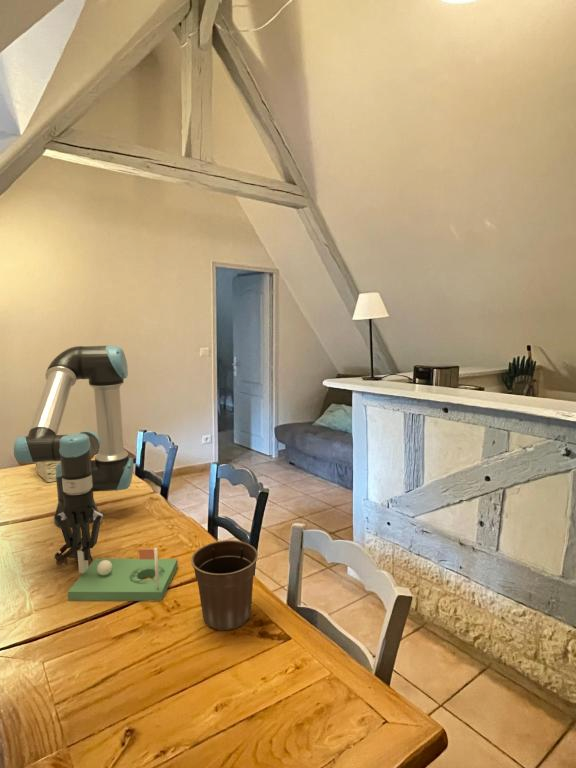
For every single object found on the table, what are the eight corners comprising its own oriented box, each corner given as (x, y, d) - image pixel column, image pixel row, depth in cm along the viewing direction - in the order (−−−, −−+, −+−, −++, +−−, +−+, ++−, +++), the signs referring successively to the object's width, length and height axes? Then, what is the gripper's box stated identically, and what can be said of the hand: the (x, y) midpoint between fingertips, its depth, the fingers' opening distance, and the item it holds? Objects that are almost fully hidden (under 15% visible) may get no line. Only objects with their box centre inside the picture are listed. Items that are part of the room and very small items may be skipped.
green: (68, 600, 122) (67, 591, 122) (95, 566, 139) (94, 558, 139) (161, 600, 122) (161, 592, 122) (177, 566, 139) (177, 558, 139)
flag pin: (142, 596, 124) (139, 547, 122) (159, 596, 124) (157, 547, 122) (141, 598, 123) (138, 549, 121) (159, 598, 123) (156, 549, 121)
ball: (100, 570, 132) (100, 557, 132) (114, 570, 132) (113, 557, 132) (94, 578, 128) (94, 564, 128) (109, 578, 128) (108, 564, 128)
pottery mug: (87, 573, 136) (69, 554, 134) (62, 583, 139) (45, 564, 136) (104, 544, 147) (88, 526, 145) (81, 554, 150) (65, 536, 147)
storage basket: (33, 471, 226) (30, 442, 224) (68, 465, 237) (66, 437, 234) (45, 485, 208) (42, 453, 206) (82, 477, 218) (80, 446, 216)
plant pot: (204, 646, 105) (202, 580, 103) (185, 607, 119) (183, 549, 117) (269, 624, 113) (268, 562, 110) (244, 590, 127) (243, 535, 125)
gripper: (47, 495, 123) (54, 577, 127) (95, 495, 123) (101, 577, 126) (61, 485, 131) (67, 563, 134) (107, 485, 130) (111, 563, 134)
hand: (83, 570), depth 130 cm, fingers closed
